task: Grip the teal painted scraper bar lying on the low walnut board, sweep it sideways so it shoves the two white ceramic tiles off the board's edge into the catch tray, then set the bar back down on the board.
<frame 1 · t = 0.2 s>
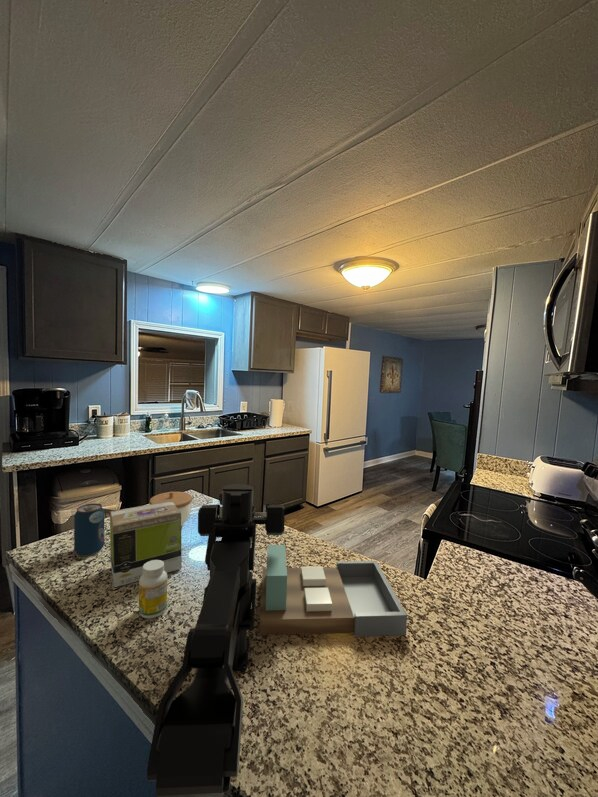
hand: (245, 506, 82), 16 cm above the worktop, tool horizontal, fingers open, 9 cm apart
soda can: (89, 551, 90), on the worktop
lidded bowl: (170, 526, 107), on the worktop
board: (303, 603, 72), on the worktop
supplement bottle: (153, 611, 69), on the worktop
tray: (366, 602, 73), on the worktop
tea box: (145, 569, 83), on the worktop
tile 2: (317, 602, 68), point 3 cm above the worktop, touching board
scraper: (275, 590, 71), point 3 cm above the worktop, touching board
tile 1: (312, 578, 76), point 3 cm above the worktop, touching board
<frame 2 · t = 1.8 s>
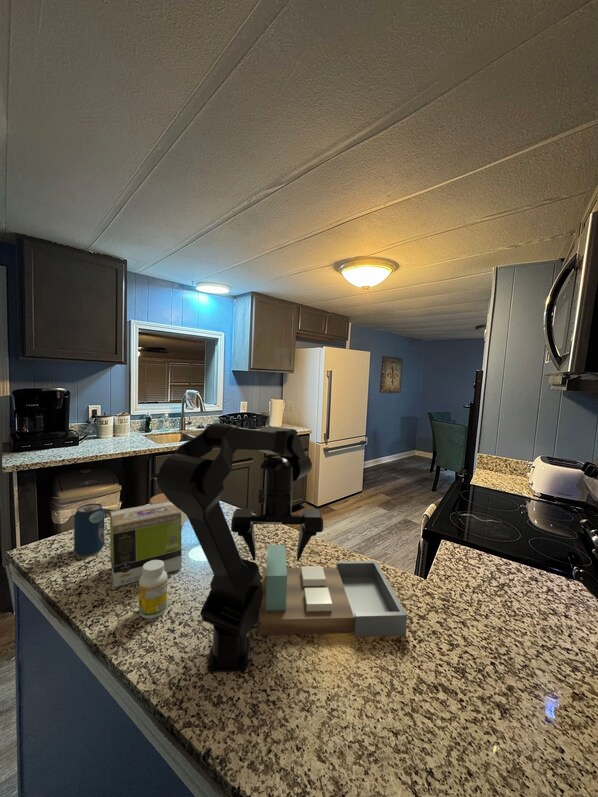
hand: (276, 559, 71), 10 cm above the worktop, tool pointing down, fingers open, 9 cm apart
nothing on the worktop moved.
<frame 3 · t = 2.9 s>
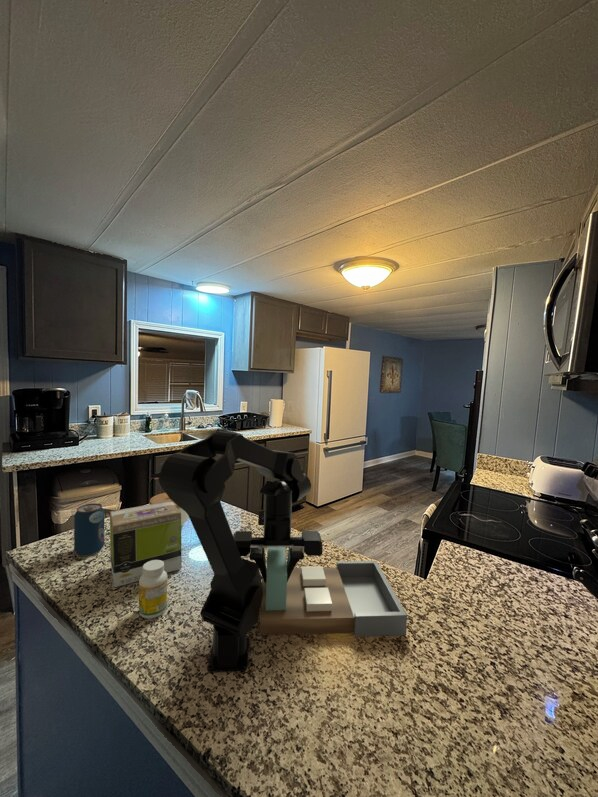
hand: (275, 581, 71), 5 cm above the worktop, tool pointing down, fingers closed on scraper, 4 cm apart
scraper: (275, 590, 71), point 3 cm above the worktop, touching board, gripper
everything else where it was.
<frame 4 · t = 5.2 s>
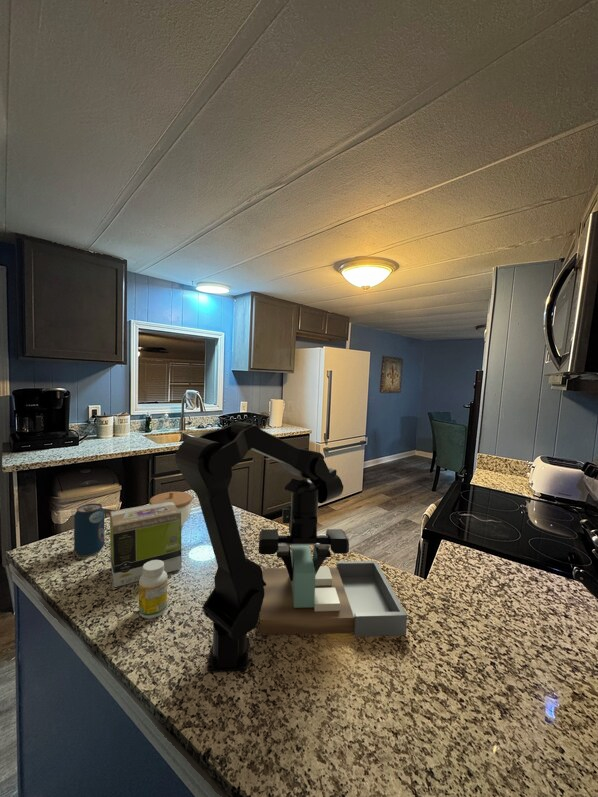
hand: (301, 579, 72), 5 cm above the worktop, tool pointing down, fingers closed on scraper, 4 cm apart
tile 2: (325, 602, 68), point 3 cm above the worktop, touching board
scraper: (301, 588, 72), point 3 cm above the worktop, touching gripper, tile 1
tile 1: (319, 578, 76), point 3 cm above the worktop, touching scraper
everything else where it was.
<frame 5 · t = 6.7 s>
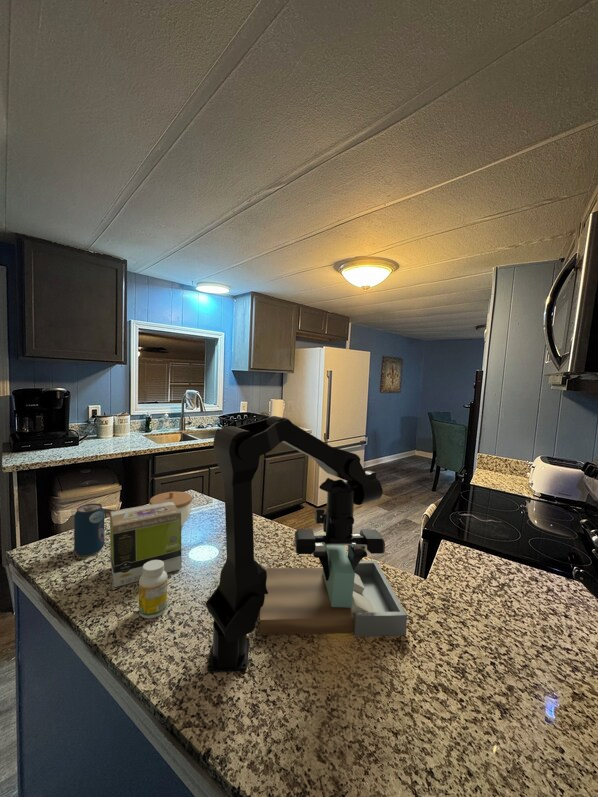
hand: (336, 579, 72), 5 cm above the worktop, tool pointing down, fingers closed on scraper, 4 cm apart
tile 2: (359, 608, 68), point 2 cm above the worktop, tilted 29°, touching board, tray
scraper: (335, 588, 72), point 3 cm above the worktop, touching gripper, tile 1
tile 1: (349, 582, 77), point 2 cm above the worktop, tilted 30°, touching scraper, tray
everything else where it was.
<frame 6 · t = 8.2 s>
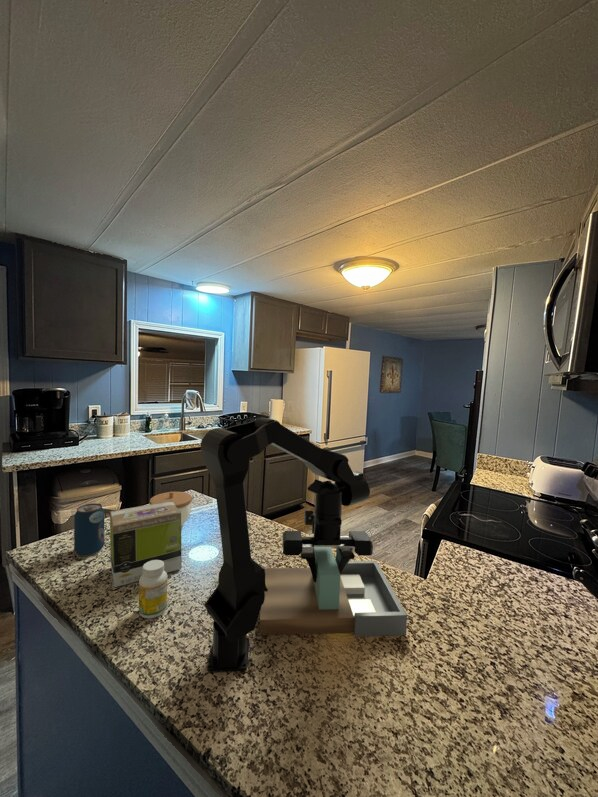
hand: (324, 581, 72), 5 cm above the worktop, tool pointing down, fingers closed on scraper, 4 cm apart
tile 2: (361, 614, 68), point 1 cm above the worktop, touching tray
scraper: (324, 590, 72), point 3 cm above the worktop, touching gripper
tile 1: (351, 587, 77), point 1 cm above the worktop, touching tray
everything else where it was.
when the fingers open (5 cm above the worktop, at t = 9.4 s): scraper stays where it is, resting on board.
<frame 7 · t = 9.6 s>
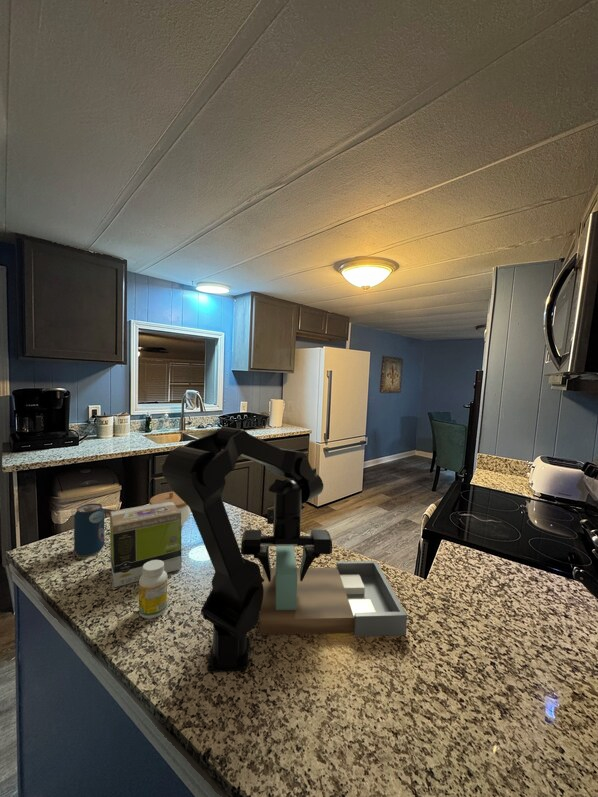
hand: (285, 580, 71), 5 cm above the worktop, tool pointing down, fingers open, 6 cm apart
scraper: (285, 590, 72), point 3 cm above the worktop, touching board
everything else where it was.
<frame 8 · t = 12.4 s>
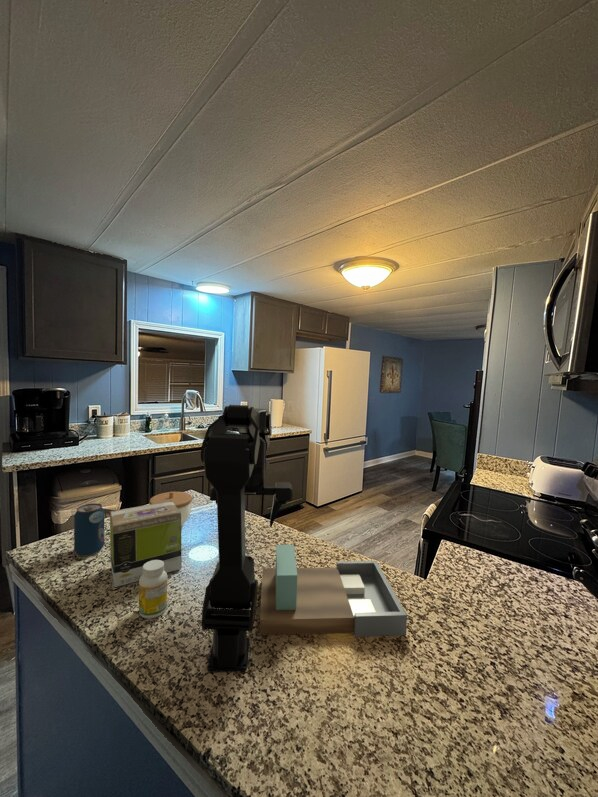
hand: (251, 526, 79), 13 cm above the worktop, tool pointing down, fingers open, 9 cm apart
nothing on the worktop moved.
at the end: tile 2 inside the target area (5.8 cm from its centre), point 0.6 cm above the worktop; tile 1 inside the target area (5.9 cm from its centre), point 0.6 cm above the worktop; scraper inside the target area (0.5 cm from its centre), point 3.0 cm above the worktop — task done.
